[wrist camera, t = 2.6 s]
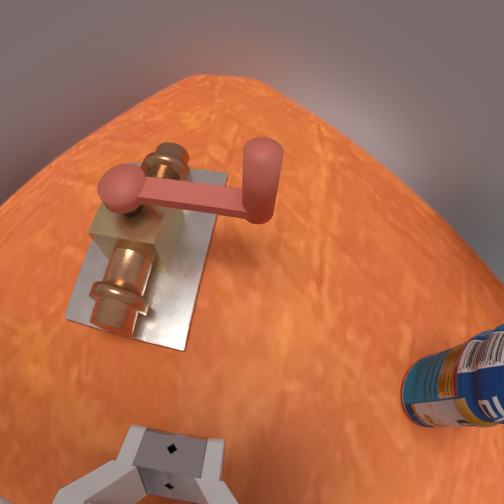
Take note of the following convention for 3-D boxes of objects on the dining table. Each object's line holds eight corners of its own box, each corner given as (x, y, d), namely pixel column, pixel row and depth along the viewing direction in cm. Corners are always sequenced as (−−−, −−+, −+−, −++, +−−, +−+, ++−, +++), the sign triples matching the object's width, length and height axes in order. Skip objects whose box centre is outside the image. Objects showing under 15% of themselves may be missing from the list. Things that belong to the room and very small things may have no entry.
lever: (96, 210, 26) (65, 157, 20) (114, 173, 28) (91, 118, 22) (269, 236, 25) (279, 178, 19) (276, 193, 27) (286, 132, 21)
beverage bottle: (447, 345, 31) (579, 276, 13) (464, 410, 27) (604, 379, 9) (390, 369, 30) (532, 310, 12) (407, 440, 26) (557, 441, 8)
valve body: (184, 351, 30) (164, 330, 22) (67, 319, 31) (23, 290, 22) (227, 177, 40) (226, 122, 32) (129, 166, 41) (111, 116, 32)
